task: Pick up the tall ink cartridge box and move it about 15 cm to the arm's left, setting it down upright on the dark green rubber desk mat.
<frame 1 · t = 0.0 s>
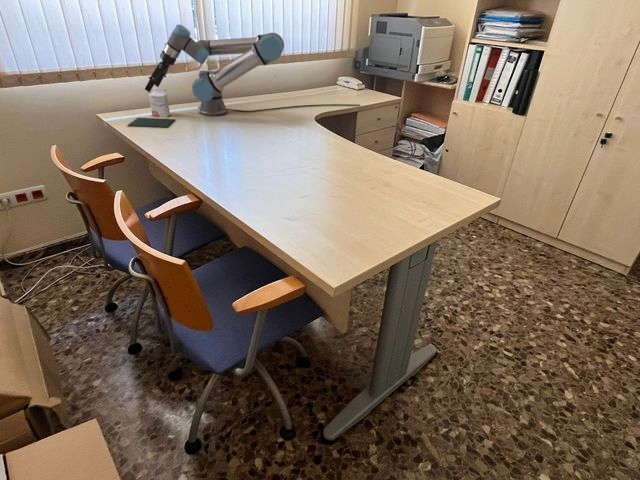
hand: (151, 88, 213), 15 cm above the table, tool tilted 35°, fingers open, 13 cm apart
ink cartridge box: (161, 115, 223), on the table
desk mat: (152, 123, 210), on the table
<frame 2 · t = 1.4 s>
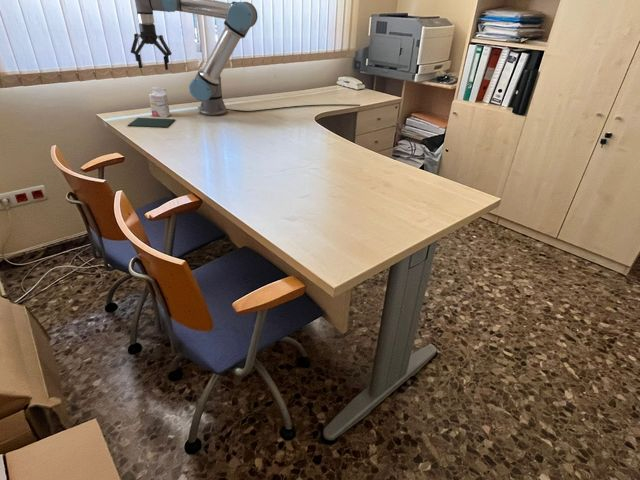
hand: (153, 68, 210), 25 cm above the table, tool pointing down, fingers open, 13 cm apart
nothing on the table moved.
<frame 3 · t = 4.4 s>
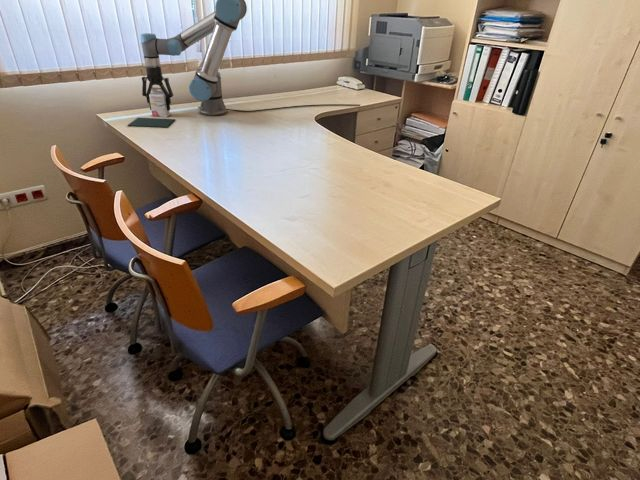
hand: (160, 109, 221), 3 cm above the table, tool pointing down, fingers closed on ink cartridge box, 9 cm apart
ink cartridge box: (161, 115, 223), on the table, touching gripper
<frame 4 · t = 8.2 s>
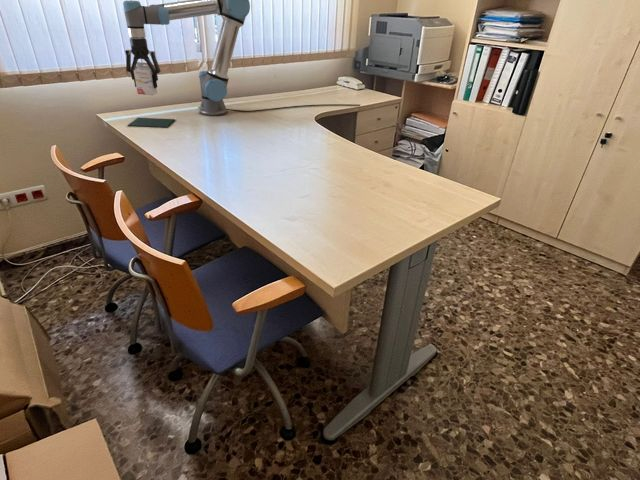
hand: (146, 87, 202), 18 cm above the table, tool pointing down, fingers closed on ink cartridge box, 9 cm apart
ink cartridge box: (147, 94, 204), point 15 cm above the table, touching gripper
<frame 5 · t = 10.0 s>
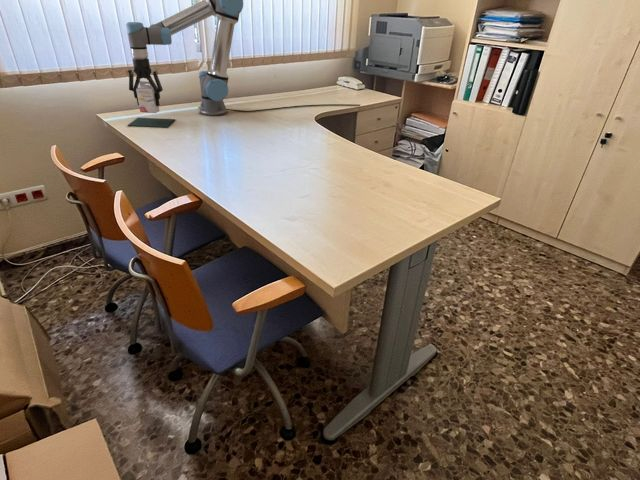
hand: (148, 105, 205), 9 cm above the table, tool pointing down, fingers closed on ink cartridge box, 9 cm apart
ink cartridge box: (150, 112, 207), point 6 cm above the table, touching gripper
when the fingers open (4 cm above the table, at t = 11.8 s): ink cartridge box stays where it is, resting on desk mat.
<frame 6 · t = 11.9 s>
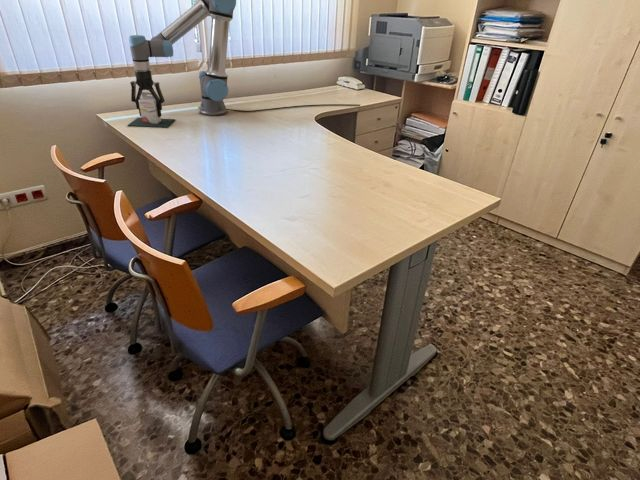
hand: (150, 115, 208), 4 cm above the table, tool pointing down, fingers open, 9 cm apart
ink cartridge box: (152, 122, 210), resting on desk mat
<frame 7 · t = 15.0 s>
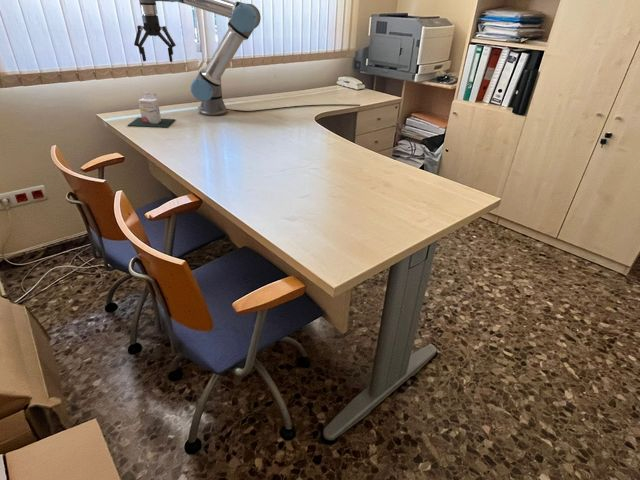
hand: (158, 61, 207), 29 cm above the table, tool pointing down, fingers open, 13 cm apart
nothing on the table moved.
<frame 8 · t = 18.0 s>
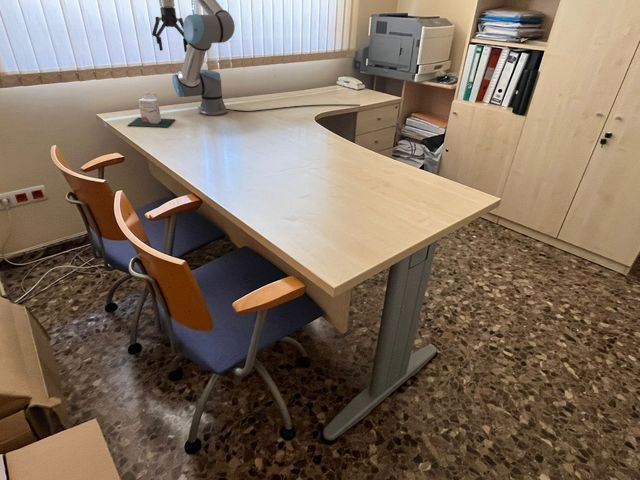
hand: (173, 51, 220), 32 cm above the table, tool pointing down, fingers open, 13 cm apart
nothing on the table moved.
at the end: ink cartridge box inside the target area (0.1 cm from its centre), resting on desk mat; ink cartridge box tilted 0°; the gripper is holding nothing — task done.
